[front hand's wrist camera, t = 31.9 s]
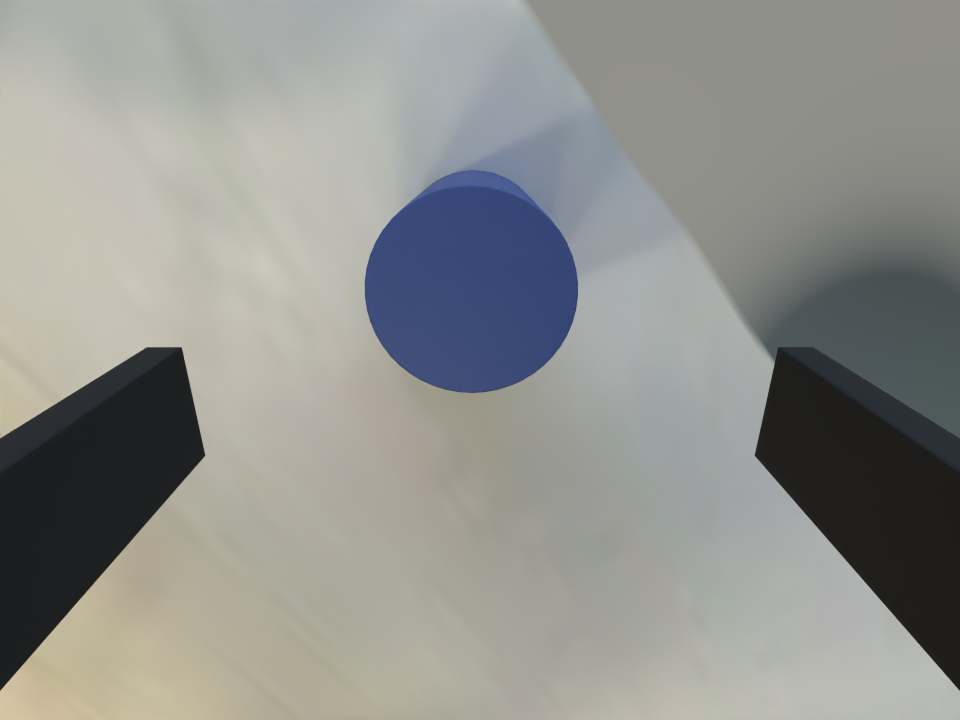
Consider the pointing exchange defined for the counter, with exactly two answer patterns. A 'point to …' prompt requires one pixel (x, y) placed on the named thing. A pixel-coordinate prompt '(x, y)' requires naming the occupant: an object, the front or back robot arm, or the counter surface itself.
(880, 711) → the counter surface
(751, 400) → the counter surface
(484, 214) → the cylinder
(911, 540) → the front robot arm
